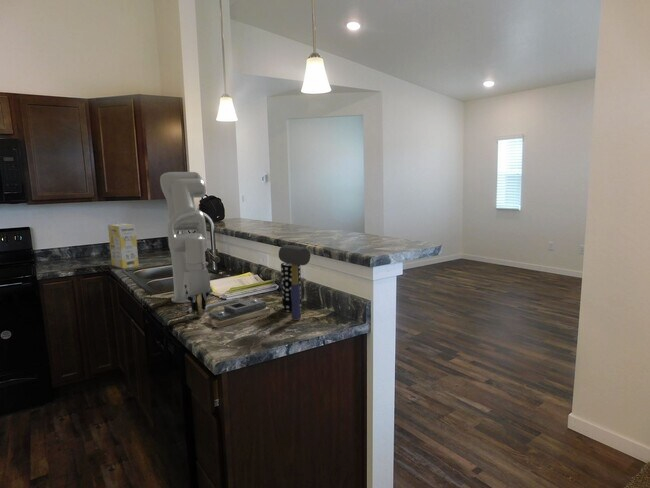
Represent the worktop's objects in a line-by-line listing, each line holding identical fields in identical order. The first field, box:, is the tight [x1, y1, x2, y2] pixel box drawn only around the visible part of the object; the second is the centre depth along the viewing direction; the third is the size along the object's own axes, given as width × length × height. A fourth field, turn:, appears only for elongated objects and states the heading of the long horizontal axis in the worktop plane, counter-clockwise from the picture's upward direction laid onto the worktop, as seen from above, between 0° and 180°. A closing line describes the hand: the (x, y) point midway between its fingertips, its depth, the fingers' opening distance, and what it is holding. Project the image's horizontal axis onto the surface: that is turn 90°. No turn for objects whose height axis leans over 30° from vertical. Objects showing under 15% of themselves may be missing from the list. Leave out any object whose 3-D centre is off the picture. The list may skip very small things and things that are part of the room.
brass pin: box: [194, 294, 204, 317], centre depth 175 cm, size 3×3×10 cm
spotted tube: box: [280, 262, 303, 313], centre depth 183 cm, size 8×8×20 cm
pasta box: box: [107, 223, 140, 269], centre depth 289 cm, size 18×10×28 cm, turn 47°
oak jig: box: [204, 306, 271, 329], centre depth 175 cm, size 10×25×2 cm, turn 135°
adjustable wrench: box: [188, 297, 240, 313], centre depth 191 cm, size 25×6×2 cm, turn 134°
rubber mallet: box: [278, 244, 311, 321], centre depth 168 cm, size 12×8×30 cm, turn 45°
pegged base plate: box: [208, 297, 267, 321], centre depth 174 cm, size 8×22×4 cm, turn 135°
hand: (198, 309), depth 176 cm, fingers closed on brass pin, 3 cm apart
